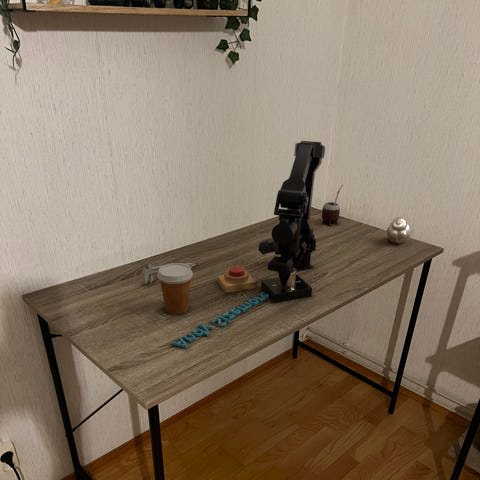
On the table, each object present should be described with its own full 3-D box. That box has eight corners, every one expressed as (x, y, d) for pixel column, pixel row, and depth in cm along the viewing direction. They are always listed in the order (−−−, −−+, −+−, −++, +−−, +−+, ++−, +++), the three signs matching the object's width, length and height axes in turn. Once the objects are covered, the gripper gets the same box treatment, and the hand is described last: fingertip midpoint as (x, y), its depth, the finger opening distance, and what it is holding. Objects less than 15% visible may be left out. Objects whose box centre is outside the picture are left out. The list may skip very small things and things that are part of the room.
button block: (246, 277, 156) (246, 265, 154) (256, 288, 150) (256, 276, 148) (216, 282, 153) (216, 270, 151) (225, 293, 147) (225, 281, 145)
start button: (240, 270, 152) (240, 265, 151) (245, 276, 149) (245, 271, 148) (227, 272, 151) (227, 267, 150) (232, 278, 147) (232, 273, 146)
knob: (298, 285, 145) (299, 271, 142) (282, 288, 143) (283, 273, 141) (290, 278, 149) (291, 264, 146) (274, 281, 147) (275, 266, 145)
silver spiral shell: (378, 241, 185) (383, 215, 179) (396, 236, 189) (400, 211, 184) (397, 249, 178) (402, 222, 173) (414, 244, 183) (420, 218, 178)
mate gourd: (320, 225, 199) (324, 188, 192) (321, 219, 206) (324, 183, 198) (339, 226, 198) (343, 189, 191) (339, 220, 205) (343, 184, 197)
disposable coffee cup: (180, 320, 133) (177, 280, 127) (153, 310, 137) (149, 271, 131) (200, 306, 140) (199, 267, 134) (174, 297, 144) (172, 259, 138)
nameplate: (168, 343, 123) (182, 351, 120) (168, 341, 122) (182, 348, 119) (260, 293, 147) (273, 298, 144) (260, 290, 146) (273, 296, 144)
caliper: (146, 285, 151) (144, 266, 147) (143, 284, 151) (142, 265, 148) (196, 266, 163) (195, 248, 160) (193, 265, 164) (193, 247, 161)
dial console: (295, 282, 153) (296, 273, 152) (311, 296, 145) (312, 287, 144) (260, 288, 150) (261, 279, 148) (274, 303, 142) (275, 293, 140)
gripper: (273, 218, 148) (271, 265, 156) (250, 238, 133) (249, 290, 141) (309, 223, 144) (305, 271, 152) (290, 245, 129) (286, 297, 137)
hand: (286, 282), depth 146 cm, fingers closed on knob, 5 cm apart
